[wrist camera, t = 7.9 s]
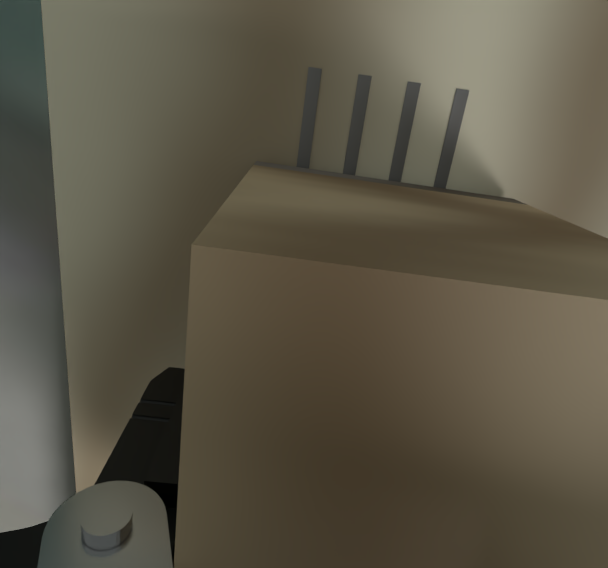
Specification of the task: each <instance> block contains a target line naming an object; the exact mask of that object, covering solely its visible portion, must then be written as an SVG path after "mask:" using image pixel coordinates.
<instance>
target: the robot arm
mask: <svg viewBox="0 0 608 568" xmlns="http://www.w3.org/2000/svg"><path fill="white" fill-rule="evenodd" d="M184 373H185V369H183V368H175V367H168V368H167V369H166V370H164V371H163V372H161V373H160V374H159V375H157V376H156V377H155V378H153V379H152V380H151V381H150V382H149V384H148V386H147V388H146V390H145V391H144V393H143V395H142V397H141V399H140V403H138V404H137V406H136V408H135V410H134V412H133V414H132V418H130V419H129V421H128V423H127V425H126V427H125V429H124V430H123V432H122V434H121V436H120V438H119V440H118V442H117V443H116V445H115V447H114V449H113V451H112V453H111V455H110V456H109V458H108V460H107V462H106V464H105V466H104V468H103V469H102V471H101V473H100V475H99V477H98V479H97V481H96V482H95V484H94V485H93V486H90V487H88V488H86V489H84V490H82V491H79V492H78V493H76V494H75V495H73V496H71V497H70V498H69V499H67V500H66V501H65V502H64V503H62V504H61V505H60V506H59V508H58V509H57V510H56V511H55V512H54V513H53V515H52V516H51V517H50V519H49V520H48V521H47V522H44V523H41V524H38V525H35V526H32V527H28V528H24V529H19V530H14V531H8V532H3V533H0V568H174V553H175V535H176V517H177V499H178V481H179V463H180V445H181V427H182V409H183V391H184Z"/></svg>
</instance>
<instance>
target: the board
mask: <svg viewBox="0 0 608 568" xmlns="http://www.w3.org/2000/svg"><path fill="white" fill-rule="evenodd" d="M41 9H42V23H43V37H44V50H45V64H46V78H47V92H48V106H49V120H50V134H51V148H52V162H53V176H54V190H55V204H56V218H57V231H58V245H59V259H60V273H61V287H62V301H63V315H64V329H65V343H66V357H67V371H68V385H69V399H70V413H71V426H72V440H73V454H74V468H75V482H76V493H78V492H79V491H82V490H84V489H86V488H88V487H90V486H93V485H94V484H95V482H96V481H97V479H98V477H99V475H100V473H101V471H102V469H103V468H104V466H105V464H106V462H107V460H108V458H109V456H110V455H111V453H112V451H113V449H114V447H115V445H116V443H117V442H118V440H119V438H120V436H121V434H122V432H123V430H124V429H125V427H126V425H127V423H128V421H129V419H130V418H132V414H133V412H134V410H135V408H136V406H137V404H138V403H140V399H141V397H142V395H143V393H144V391H145V390H146V388H147V386H148V384H149V382H150V381H151V380H152V379H153V378H155V377H156V376H157V375H159V374H160V373H161V372H163V371H164V370H166V369H167V368H168V367H175V368H183V369H185V355H186V337H187V319H188V301H189V283H190V265H191V247H192V243H193V242H194V241H195V240H196V238H197V237H198V236H199V234H200V233H201V232H202V231H203V229H204V228H205V227H206V225H207V224H208V223H209V221H210V220H211V219H212V218H213V216H214V215H215V214H216V212H217V211H218V210H219V209H220V207H221V206H222V205H223V203H224V202H225V201H226V200H227V198H228V197H229V196H230V194H231V193H232V192H233V191H234V189H235V188H236V187H237V185H238V184H239V183H240V182H241V180H242V179H243V178H244V176H245V175H246V174H247V172H248V171H249V170H250V169H251V167H252V166H253V165H254V163H255V162H256V161H260V162H267V163H274V164H280V165H287V166H294V167H301V168H308V169H314V170H321V171H328V172H335V173H342V174H348V175H355V176H362V177H369V178H376V179H383V180H389V181H396V182H403V183H410V184H417V185H423V186H430V187H437V188H444V189H451V190H458V191H464V192H471V193H478V194H485V195H492V196H498V197H505V198H512V199H515V200H518V201H520V202H522V203H525V204H527V205H530V206H532V207H534V208H537V209H539V210H541V211H544V212H546V213H549V214H551V215H553V216H556V217H558V218H560V219H563V220H565V221H567V222H570V223H572V224H575V225H577V226H579V227H582V228H584V229H586V230H589V231H591V232H594V233H596V234H598V235H601V236H603V237H605V238H608V0H41Z"/></svg>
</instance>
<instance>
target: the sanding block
mask: <svg viewBox="0 0 608 568" xmlns="http://www.w3.org/2000/svg"><path fill="white" fill-rule="evenodd" d="M174 568H608V238H605V237H603V236H601V235H598V234H596V233H594V232H591V231H589V230H586V229H584V228H582V227H579V226H577V225H575V224H572V223H570V222H567V221H565V220H563V219H560V218H558V217H556V216H553V215H551V214H549V213H546V212H544V211H541V210H539V209H537V208H534V207H532V206H530V205H527V204H525V203H522V202H520V201H518V200H515V199H512V198H505V197H498V196H492V195H485V194H478V193H471V192H464V191H458V190H451V189H444V188H437V187H430V186H423V185H417V184H410V183H403V182H396V181H389V180H383V179H376V178H369V177H362V176H355V175H348V174H342V173H335V172H328V171H321V170H314V169H308V168H301V167H294V166H287V165H280V164H274V163H267V162H260V161H256V162H255V163H254V165H253V166H252V167H251V169H250V170H249V171H248V172H247V174H246V175H245V176H244V178H243V179H242V180H241V182H240V183H239V184H238V185H237V187H236V188H235V189H234V191H233V192H232V193H231V194H230V196H229V197H228V198H227V200H226V201H225V202H224V203H223V205H222V206H221V207H220V209H219V210H218V211H217V212H216V214H215V215H214V216H213V218H212V219H211V220H210V221H209V223H208V224H207V225H206V227H205V228H204V229H203V231H202V232H201V233H200V234H199V236H198V237H197V238H196V240H195V241H194V242H193V243H192V247H191V265H190V283H189V301H188V319H187V337H186V355H185V373H184V391H183V409H182V427H181V445H180V463H179V481H178V499H177V517H176V535H175V553H174Z"/></svg>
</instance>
